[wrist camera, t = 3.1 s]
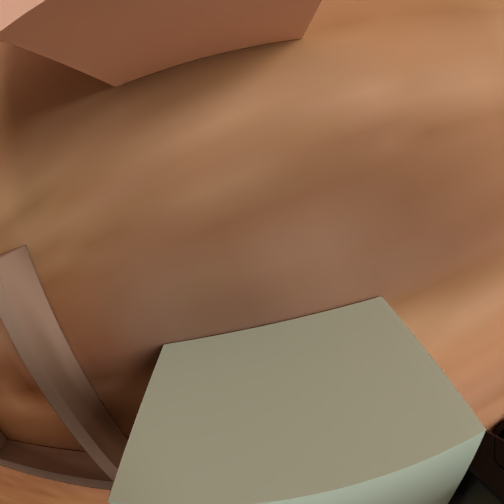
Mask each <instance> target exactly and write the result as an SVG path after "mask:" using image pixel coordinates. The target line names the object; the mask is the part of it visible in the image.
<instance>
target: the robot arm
mask: <svg viewBox="0 0 504 504" xmlns="http://www.w3.org/2000/svg"><path fill="white" fill-rule="evenodd" d="M448 504H504V422H502V423H501V424H500V425H499V426H498V427H497V428H496V429H495V430H494V432H493V434H492V433H490V432H488V431H485V434H484V436H483V438H482V441H481V443H480V445H479V447H478V449H477V451H476V453H475V455H474V457H473V460H472V462H471V463H470V465H469V467H468V469H467V471H466V473H465V475H464V477H463V479H462V480H461V482H460V484H459V486H458V487H457V489H456V491H455V493H454V494H453V496H452V498H451V499H450V501H449V502H448Z"/></svg>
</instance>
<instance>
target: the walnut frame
mask: <svg viewBox="0 0 504 504" xmlns="http://www.w3.org/2000/svg"><path fill="white" fill-rule="evenodd" d="M0 318H1V320H2V322H3V324H4V326H5V328H6V330H7V332H8V334H9V336H10V338H11V340H12V342H13V344H14V346H15V347H16V349H17V351H18V353H19V355H20V357H21V358H22V360H23V362H24V364H25V365H26V367H27V369H28V370H29V372H30V374H31V375H32V377H33V379H34V380H35V382H36V384H37V385H38V387H39V388H40V390H41V391H42V393H43V394H44V396H45V397H46V399H47V400H48V402H49V403H50V405H51V406H52V408H53V409H54V410H55V412H56V413H57V415H58V416H59V417H60V419H61V420H62V421H63V423H64V424H65V425H66V427H67V428H68V429H69V431H70V432H71V433H72V435H73V436H74V437H75V438H76V440H77V441H78V442H79V443H80V445H81V446H82V447H83V448H84V449H85V451H86V452H82V451H73V450H64V449H57V448H50V447H44V446H38V445H32V444H27V443H22V442H17V441H13V440H8V439H6V437H5V436H4V435H3V434H2V433H1V431H0V465H1V466H4V467H7V468H10V469H14V470H17V471H20V472H24V473H27V474H31V475H34V476H38V477H42V478H46V479H50V480H55V481H59V482H64V483H69V484H74V485H79V486H85V487H91V488H98V489H105V490H112V486H113V483H114V480H115V477H116V474H117V471H118V468H119V465H120V462H121V459H122V456H123V453H124V450H125V448H126V445H127V442H128V440H127V438H126V437H125V436H124V434H123V433H122V432H121V430H120V429H119V427H118V426H117V424H116V423H115V422H114V420H113V419H112V417H111V416H110V414H109V413H108V411H107V410H106V408H105V407H104V405H103V404H102V402H101V400H100V399H99V397H98V396H97V394H96V393H95V391H94V389H93V388H92V386H91V384H90V383H89V381H88V379H87V378H86V376H85V374H84V372H83V371H82V369H81V367H80V365H79V364H78V362H77V360H76V358H75V356H74V354H73V353H72V351H71V349H70V347H69V345H68V343H67V341H66V339H65V337H64V335H63V333H62V331H61V329H60V327H59V325H58V323H57V321H56V319H55V316H54V314H53V312H52V310H51V308H50V305H49V303H48V301H47V299H46V296H45V294H44V291H43V289H42V287H41V284H40V282H39V279H38V277H37V274H36V271H35V269H34V266H33V263H32V261H31V258H30V255H29V252H28V249H27V246H26V245H24V246H21V247H18V248H16V249H13V250H11V251H8V252H6V253H3V254H1V255H0Z"/></svg>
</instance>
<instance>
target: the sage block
mask: <svg viewBox="0 0 504 504" xmlns="http://www.w3.org/2000/svg"><path fill="white" fill-rule="evenodd" d="M485 431H486V429H485V427H484V426H483V424H482V423H481V422H480V420H479V419H478V417H477V416H476V415H475V413H474V412H473V410H472V409H471V408H470V406H469V405H468V404H467V402H466V401H465V399H464V398H463V397H462V395H461V394H460V393H459V391H458V390H457V389H456V387H455V386H454V385H453V383H452V382H451V381H450V380H449V378H448V377H447V376H446V374H445V373H444V372H443V370H442V369H441V368H440V367H439V365H438V364H437V363H436V362H435V360H434V359H433V358H432V356H431V355H430V354H429V353H428V351H427V350H426V349H425V348H424V347H423V345H422V344H421V343H420V342H419V340H418V339H417V338H416V337H415V335H414V334H413V333H412V332H411V331H410V329H409V328H408V327H407V326H406V325H405V323H404V322H403V321H402V320H401V319H400V317H399V316H398V315H397V314H396V313H395V312H394V310H393V309H392V308H391V307H390V306H389V305H388V303H387V302H386V301H385V300H384V299H383V298H382V296H380V297H377V298H373V299H370V300H366V301H362V302H359V303H355V304H351V305H348V306H344V307H340V308H336V309H332V310H329V311H325V312H321V313H317V314H313V315H308V316H304V317H300V318H296V319H292V320H287V321H283V322H279V323H274V324H270V325H265V326H260V327H256V328H251V329H246V330H241V331H236V332H231V333H226V334H221V335H216V336H210V337H205V338H199V339H194V340H188V341H182V342H176V343H170V344H164V345H163V348H162V350H161V353H160V355H159V358H158V361H157V363H156V366H155V368H154V371H153V373H152V376H151V379H150V381H149V384H148V387H147V389H146V392H145V395H144V397H143V400H142V403H141V405H140V408H139V411H138V414H137V416H136V419H135V422H134V425H133V428H132V430H131V433H130V436H129V439H128V442H127V445H126V448H125V450H124V453H123V456H122V459H121V462H120V465H119V468H118V471H117V474H116V477H115V480H114V483H113V486H112V490H111V493H110V496H109V499H108V502H109V503H110V504H448V502H449V501H450V499H451V498H452V496H453V494H454V493H455V491H456V489H457V487H458V486H459V484H460V482H461V480H462V479H463V477H464V475H465V473H466V471H467V469H468V467H469V465H470V463H471V462H472V460H473V457H474V455H475V453H476V451H477V449H478V447H479V445H480V443H481V441H482V438H483V436H484V434H485Z"/></svg>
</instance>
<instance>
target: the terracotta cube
mask: <svg viewBox="0 0 504 504" xmlns="http://www.w3.org/2000/svg"><path fill="white" fill-rule="evenodd" d="M321 1H322V0H0V41H2V42H5V43H8V44H11V45H14V46H17V47H20V48H22V49H25V50H28V51H31V52H33V53H36V54H39V55H41V56H44V57H46V58H49V59H52V60H54V61H57V62H59V63H62V64H64V65H66V66H69V67H71V68H74V69H76V70H78V71H81V72H83V73H85V74H88V75H90V76H92V77H95V78H97V79H99V80H101V81H104V82H106V83H108V84H110V85H112V86H114V87H117V86H120V85H122V84H125V83H127V82H130V81H133V80H135V79H138V78H141V77H143V76H146V75H149V74H152V73H155V72H158V71H161V70H164V69H167V68H170V67H173V66H176V65H179V64H183V63H186V62H190V61H193V60H197V59H200V58H204V57H208V56H212V55H216V54H220V53H224V52H228V51H233V50H237V49H242V48H247V47H252V46H257V45H262V44H268V43H274V42H280V41H287V40H294V39H302V37H303V35H304V33H305V31H306V29H307V27H308V26H309V24H310V22H311V20H312V18H313V16H314V14H315V12H316V10H317V8H318V6H319V4H320V2H321Z"/></svg>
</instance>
